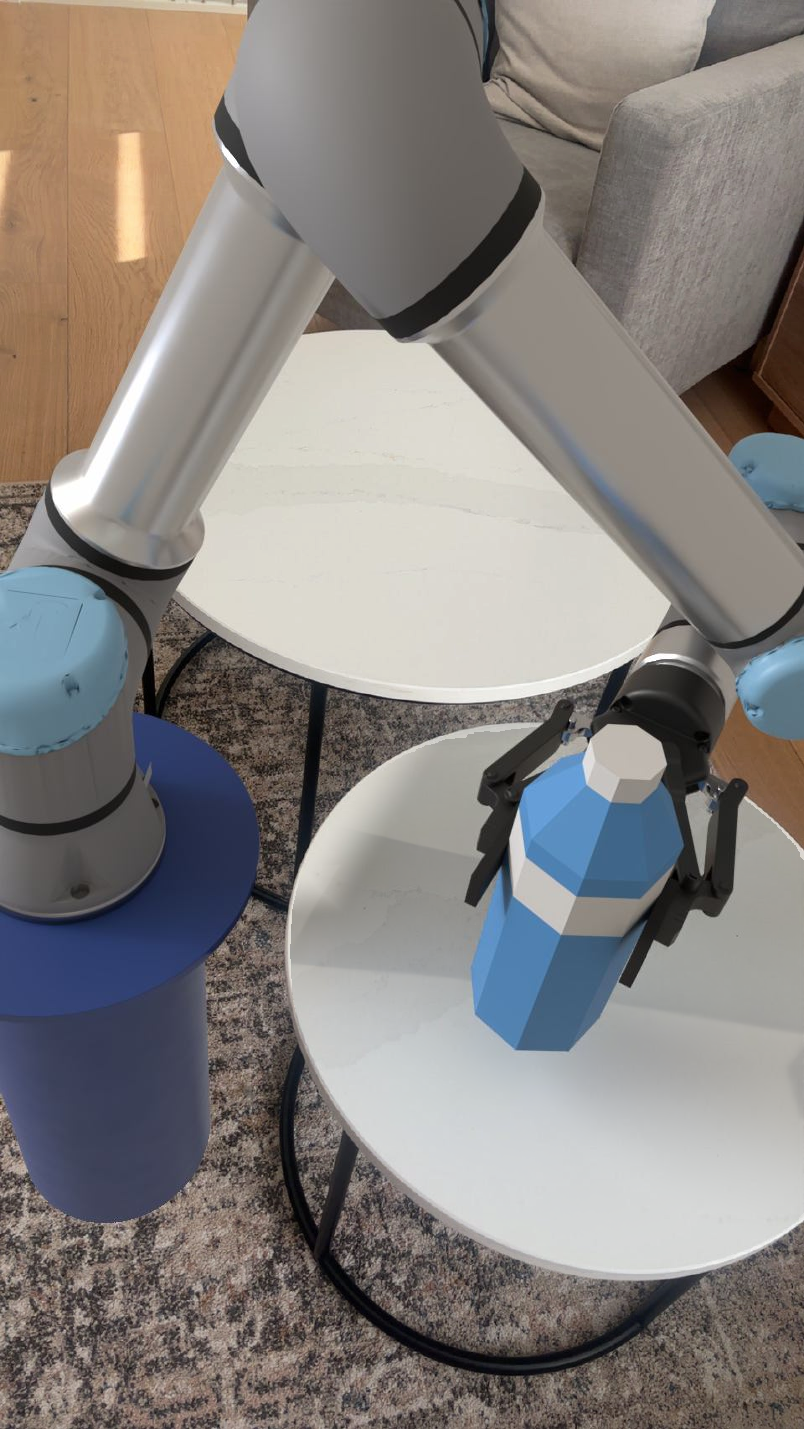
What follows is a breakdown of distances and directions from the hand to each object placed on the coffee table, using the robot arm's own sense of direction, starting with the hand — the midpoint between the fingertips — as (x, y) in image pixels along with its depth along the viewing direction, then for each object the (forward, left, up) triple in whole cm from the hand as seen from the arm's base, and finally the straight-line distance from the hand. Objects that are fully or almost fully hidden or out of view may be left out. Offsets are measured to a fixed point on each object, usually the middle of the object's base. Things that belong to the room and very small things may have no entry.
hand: (550, 931), depth 63 cm
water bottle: (0, +4, -14) cm, 14 cm away
